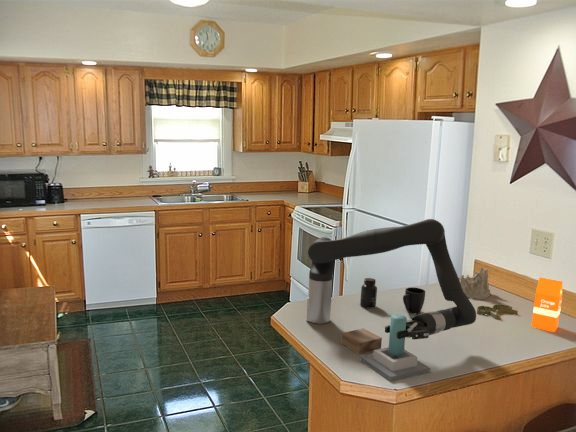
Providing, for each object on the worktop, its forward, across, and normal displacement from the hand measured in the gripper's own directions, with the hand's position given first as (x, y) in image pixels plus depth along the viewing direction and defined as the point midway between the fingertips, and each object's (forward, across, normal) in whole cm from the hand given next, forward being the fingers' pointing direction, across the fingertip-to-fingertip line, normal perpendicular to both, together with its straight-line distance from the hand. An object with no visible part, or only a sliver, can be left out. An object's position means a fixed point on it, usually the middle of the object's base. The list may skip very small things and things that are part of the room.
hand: (391, 332), depth 178 cm
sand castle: (-92, -42, +13) cm, 102 cm away
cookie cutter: (-80, -18, +13) cm, 83 cm away
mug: (-46, -35, +13) cm, 59 cm away
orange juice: (-84, +2, +13) cm, 85 cm away
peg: (-3, 0, +7) cm, 8 cm away
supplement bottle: (-34, -50, +12) cm, 62 cm away
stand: (-3, -18, +12) cm, 22 cm away
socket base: (-2, 0, +12) cm, 12 cm away
